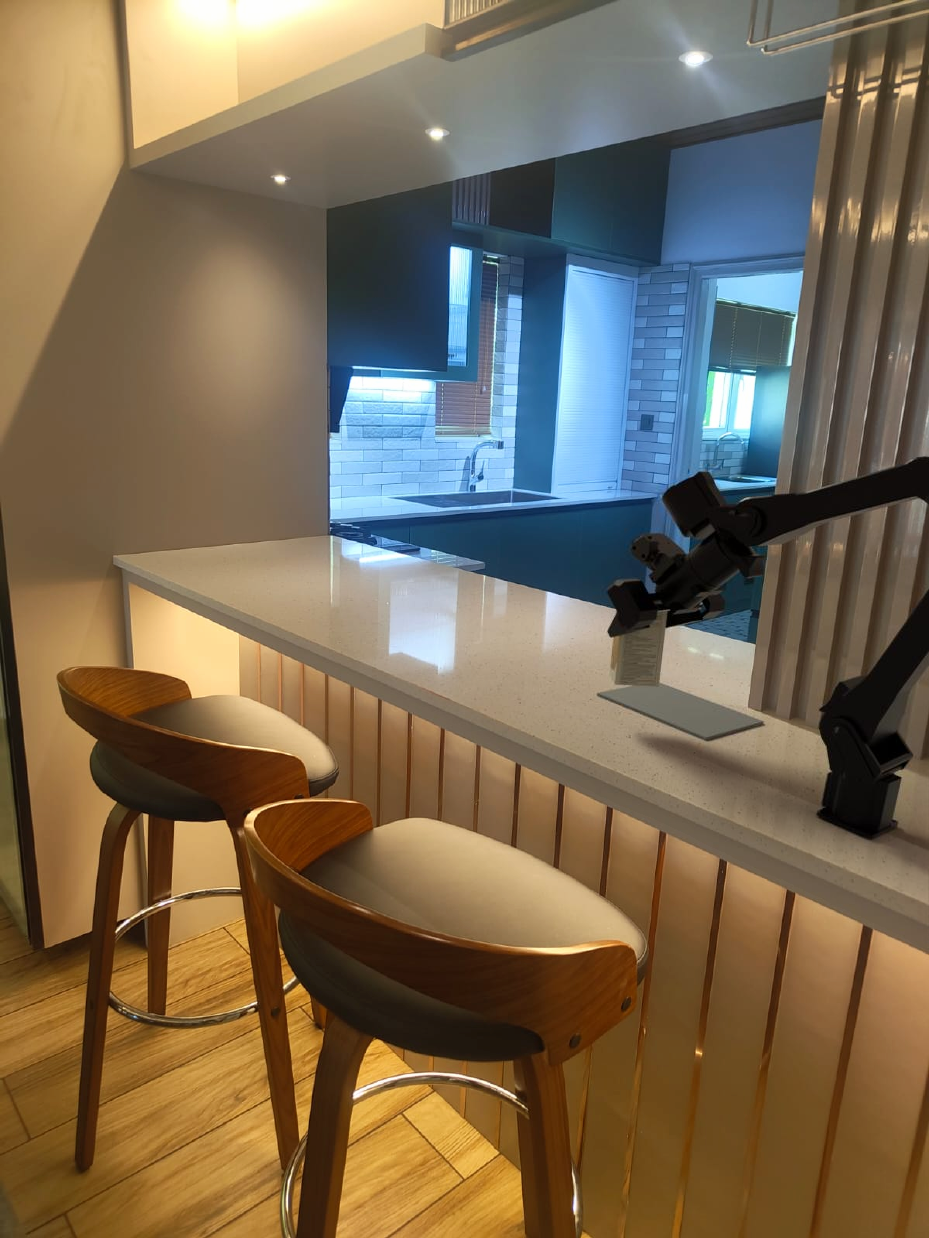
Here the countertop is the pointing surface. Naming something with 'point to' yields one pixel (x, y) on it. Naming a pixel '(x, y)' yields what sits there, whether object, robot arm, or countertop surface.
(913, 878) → the countertop surface
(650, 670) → the skincare box
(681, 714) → the slate mat
